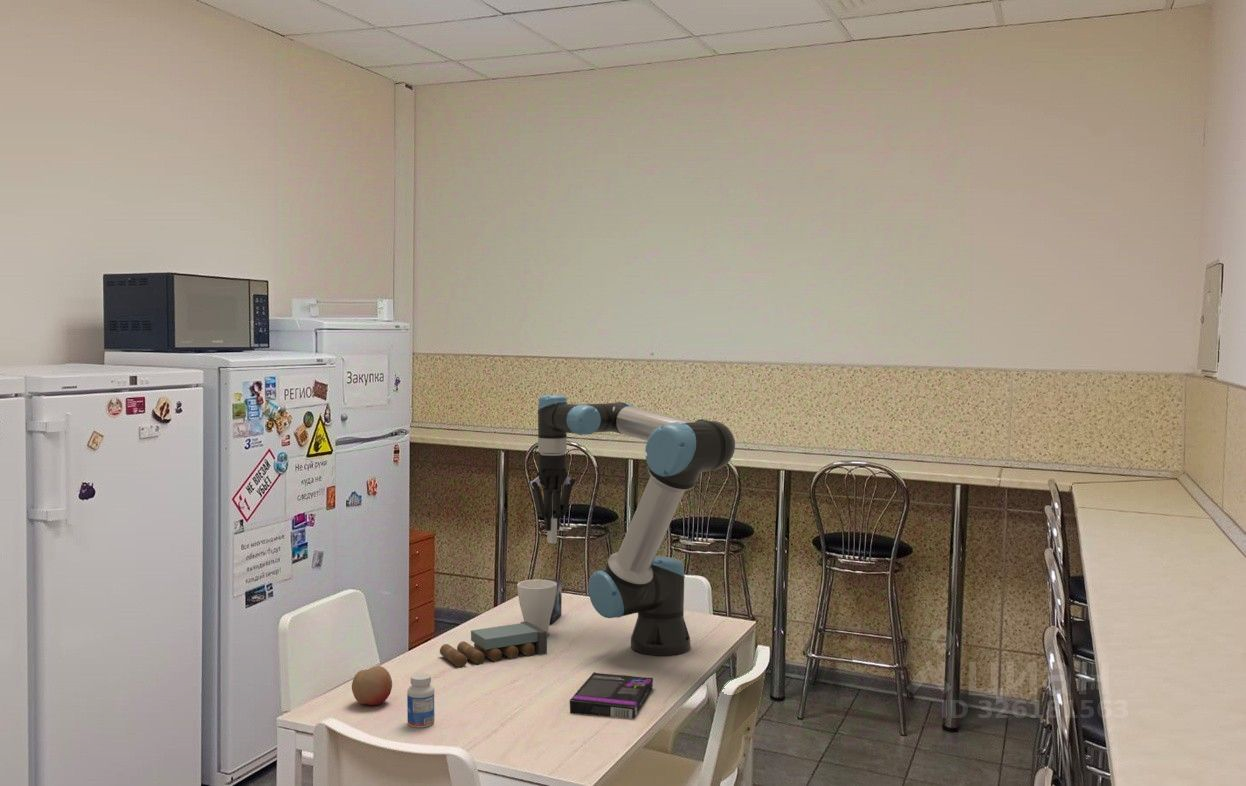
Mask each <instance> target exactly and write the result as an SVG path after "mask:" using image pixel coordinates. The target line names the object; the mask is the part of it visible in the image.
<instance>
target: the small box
mask: <svg viewBox="0 0 1246 786" xmlns="http://www.w3.org/2000/svg"><path fill="white" fill-rule="evenodd" d="M540 580H550V581H554V582H556V583H557V590H556V597H555V602H554V607H553V610H552V614H551V619H550V623H549V626H550V625H553V624H554V623H555V622H556V621H558V619H559V618H560V617H561V616H562V603H563V601H562V600H563V599H562V593H563V591H562V590H563V588H562V587H563V585H562V584H563V580H562V579H555V578H554V579H553V578H552V579H551V578H545V577H544V578H543V577H542V578H541V579H540Z"/></svg>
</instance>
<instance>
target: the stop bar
mask: <svg viewBox="0 0 1246 786" xmlns="http://www.w3.org/2000/svg"><path fill="white" fill-rule="evenodd" d="M520 623H523V624H525V625H527V626H529V627H530V628H532V629H534V630H536V631H538V641H537V642H531V644H533V645H534V646H535V652H534V653H536V654H538V655H539V656H542V655H547V654H548V651H547V650H548V645H547V644H548V635H547V632H546V631H545V630H543V629H541V628H539V627H537V626H535V625H533V624H531V623H529V622H524V621H522V622H520Z"/></svg>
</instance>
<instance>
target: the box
mask: <svg viewBox="0 0 1246 786" xmlns="http://www.w3.org/2000/svg"><path fill="white" fill-rule="evenodd" d="M653 684H654V679H653V677H642V676H634V675H624V674H613V673H611V674H610V673H601V672H592V674H591V675H590V676H589V678H587V679H586V681H584V682H583V684H582V685H581V687H580V688H578V690H577V691H576V692H575V694H573V696H572V697H571V698H570V699H569V714H574V715H576V714H577V715H588V716H597V717H598V716H599V717H608V718H609V717H611V718H616V719H617V718H619V719H629V720H634V719H635V718H636V717H637V715H638V714H639V712H640V711H641V708H642V707H643V705H644V704H645V702H646V701H647V700H648V697H649V696H650V694H651V693H652V691H653V687H654V685H653Z"/></svg>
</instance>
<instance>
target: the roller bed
mask: <svg viewBox="0 0 1246 786" xmlns="http://www.w3.org/2000/svg"><path fill="white" fill-rule="evenodd" d="M519 652H520V653H522V654H524V655H525V656H527V657H529V656H530V657H531V656H533V655H534V653H536V652H535V646H534V645H533V644H531V643H525V644H519V645H512V646H506V647H500V648H493V649H487V650H485V649H484V648H482V647H481V646H479V645H477V644H476V643H474V642H473V645H471V644H470V643H468V642H466V641H461V642H459V643H458V644H457V647H456V648H455V647H453V646H452V645H450V644H448V643H444V644H442V645H441V646H440V648H439V654H440V655H441V656H442V657H444V658H445V659H446V660H448V661H449V662H451V663H452V664H453V665H455V666H456V667H458V668H463V667H465V666H466V664H467V662H468V660H469V661H470V662H472V663H473V664H476V665H480V664H483V662H484V660H485V657H486V658H488V659H489V660H490V661H491V662H492V661H493V662H499V661H500V660H501V658H502V656H503V655H504V656H506V657H507V658H509V659H511V660H512V659H516V658H517V657H518V655H519Z"/></svg>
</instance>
